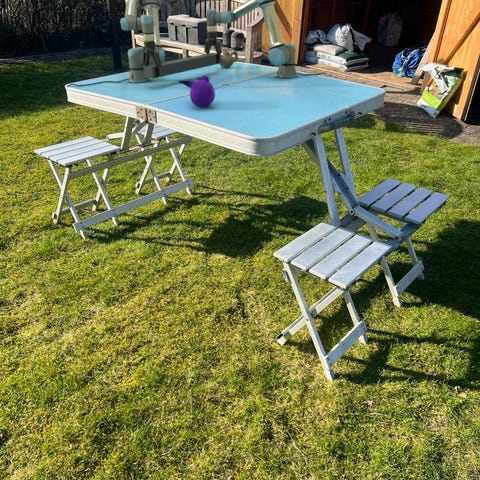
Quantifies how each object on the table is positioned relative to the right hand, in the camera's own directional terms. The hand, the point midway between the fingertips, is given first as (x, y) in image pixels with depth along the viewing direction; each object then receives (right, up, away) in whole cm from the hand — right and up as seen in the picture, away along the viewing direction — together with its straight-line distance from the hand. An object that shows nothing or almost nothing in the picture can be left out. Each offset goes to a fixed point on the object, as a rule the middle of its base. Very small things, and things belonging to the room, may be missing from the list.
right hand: (213, 62), depth 357 cm
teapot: (+10, +6, +25) cm, 28 cm away
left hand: (-39, -27, -45) cm, 66 cm away
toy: (-4, -59, -85) cm, 103 cm away
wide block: (-20, -14, -22) cm, 33 cm away
